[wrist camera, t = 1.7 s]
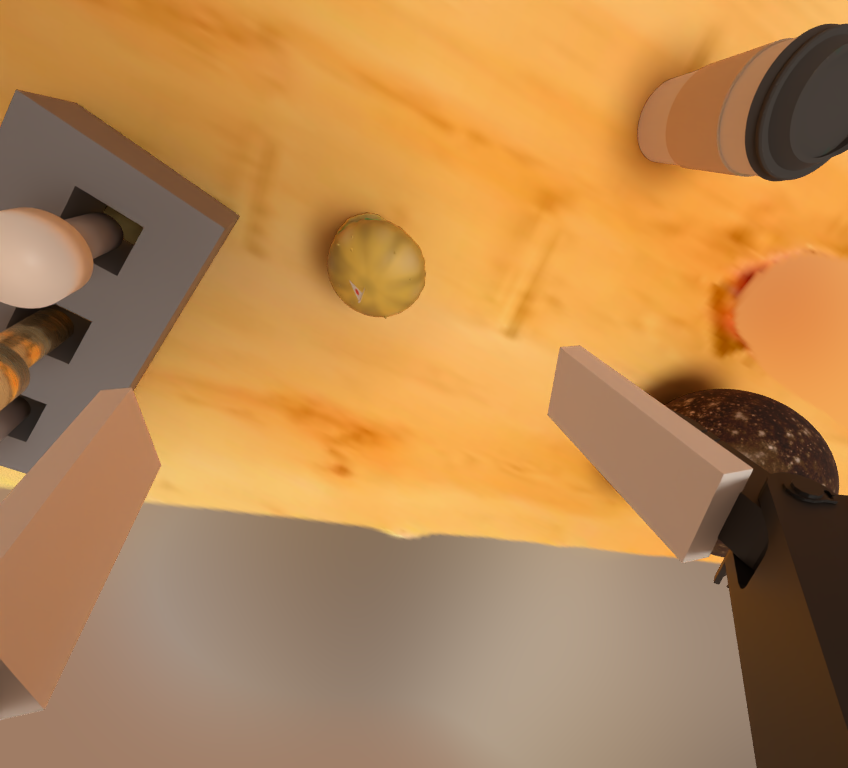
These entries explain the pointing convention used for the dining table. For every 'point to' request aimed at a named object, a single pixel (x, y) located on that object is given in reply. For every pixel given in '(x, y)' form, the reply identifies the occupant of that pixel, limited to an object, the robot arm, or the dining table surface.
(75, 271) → the knob
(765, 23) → the dining table surface
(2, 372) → the amber round-headed peg
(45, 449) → the mount block
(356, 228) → the hamburger
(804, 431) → the decorative sphere
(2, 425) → the knob
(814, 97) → the coffee cup
